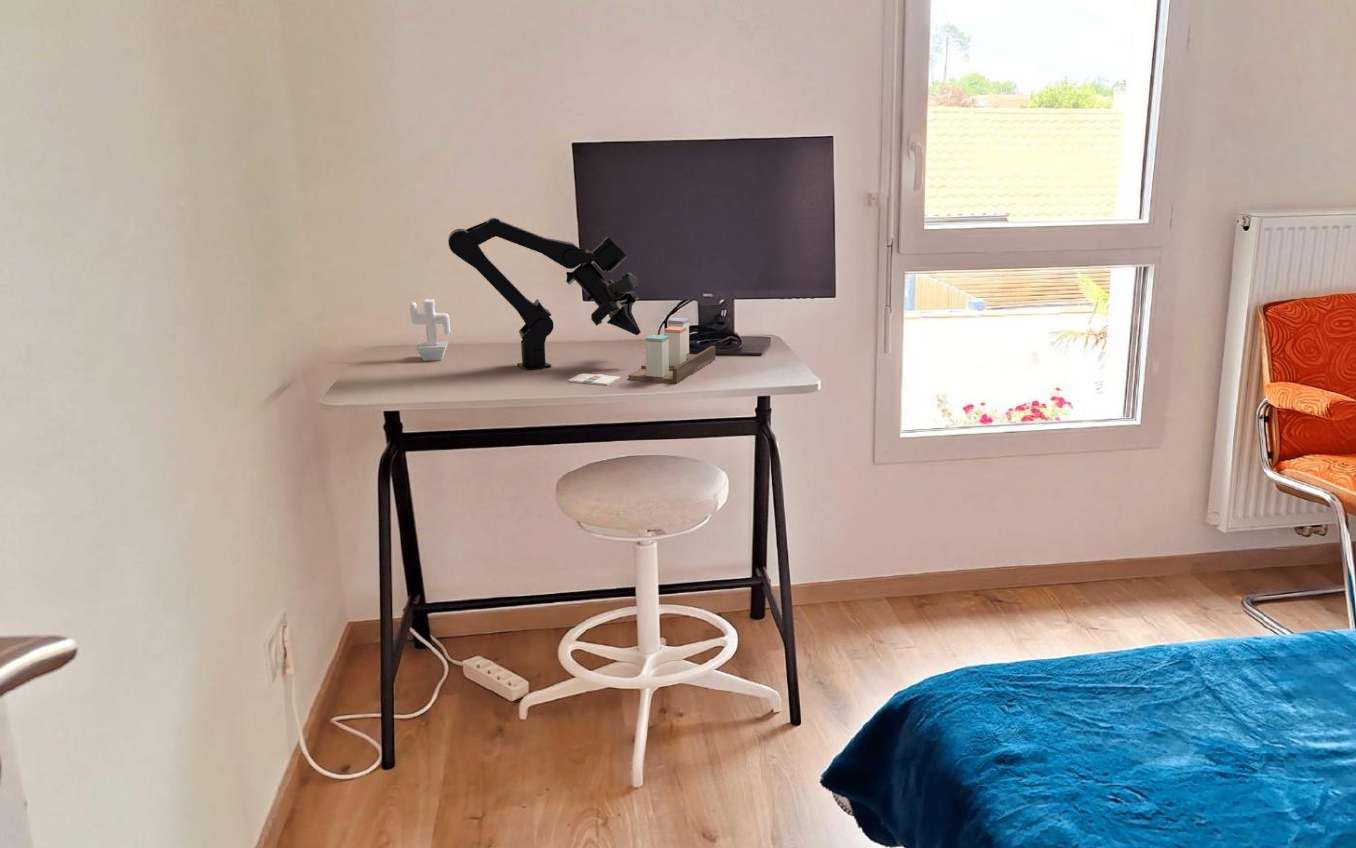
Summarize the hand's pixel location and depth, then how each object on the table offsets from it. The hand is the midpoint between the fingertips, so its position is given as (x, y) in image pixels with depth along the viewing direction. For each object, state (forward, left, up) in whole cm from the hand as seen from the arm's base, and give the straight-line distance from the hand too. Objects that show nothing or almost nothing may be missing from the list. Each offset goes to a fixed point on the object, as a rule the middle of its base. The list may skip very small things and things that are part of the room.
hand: (639, 333), depth 236 cm
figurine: (-38, -38, -8) cm, 54 cm away
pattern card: (+6, -16, -8) cm, 19 cm away
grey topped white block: (-2, +13, -7) cm, 14 cm away
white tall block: (+14, -3, -7) cm, 16 cm away
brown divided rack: (+7, +5, -8) cm, 12 cm away
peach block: (+8, +6, -7) cm, 12 cm away
